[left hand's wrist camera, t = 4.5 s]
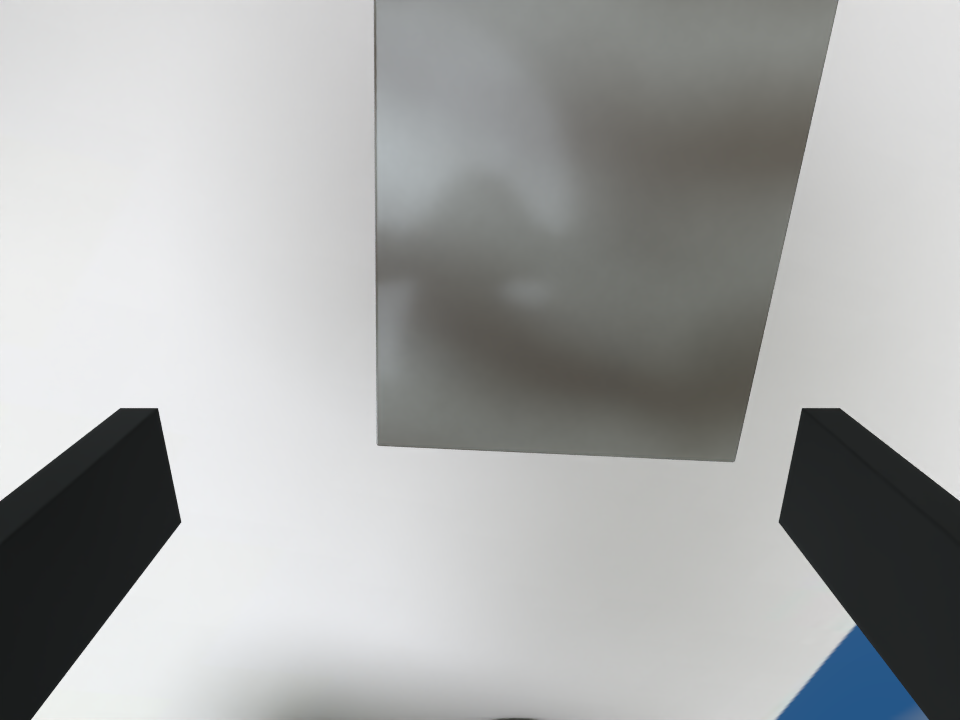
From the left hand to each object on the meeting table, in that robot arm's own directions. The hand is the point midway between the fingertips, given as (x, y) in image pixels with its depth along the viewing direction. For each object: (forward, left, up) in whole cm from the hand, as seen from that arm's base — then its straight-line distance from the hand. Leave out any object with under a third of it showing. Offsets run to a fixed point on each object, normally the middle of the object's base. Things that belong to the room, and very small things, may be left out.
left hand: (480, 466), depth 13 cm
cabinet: (+1, -8, -18) cm, 20 cm away
